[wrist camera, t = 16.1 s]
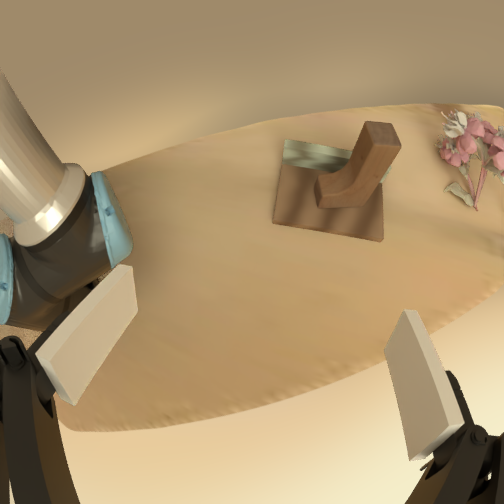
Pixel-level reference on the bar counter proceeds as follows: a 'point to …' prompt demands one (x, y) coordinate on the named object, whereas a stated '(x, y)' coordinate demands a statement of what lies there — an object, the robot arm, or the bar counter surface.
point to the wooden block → (359, 168)
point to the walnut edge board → (304, 202)
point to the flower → (472, 150)
